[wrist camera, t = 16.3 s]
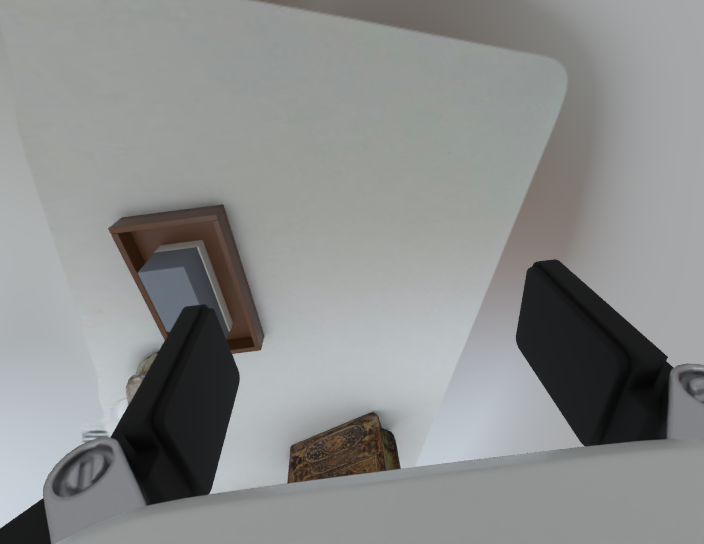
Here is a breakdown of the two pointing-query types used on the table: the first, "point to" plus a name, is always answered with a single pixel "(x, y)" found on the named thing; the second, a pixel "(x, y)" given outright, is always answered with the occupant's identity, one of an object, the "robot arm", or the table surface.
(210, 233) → the tray
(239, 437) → the table surface
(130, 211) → the table surface
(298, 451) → the book
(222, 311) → the grey stepped block
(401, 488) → the robot arm
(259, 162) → the table surface
